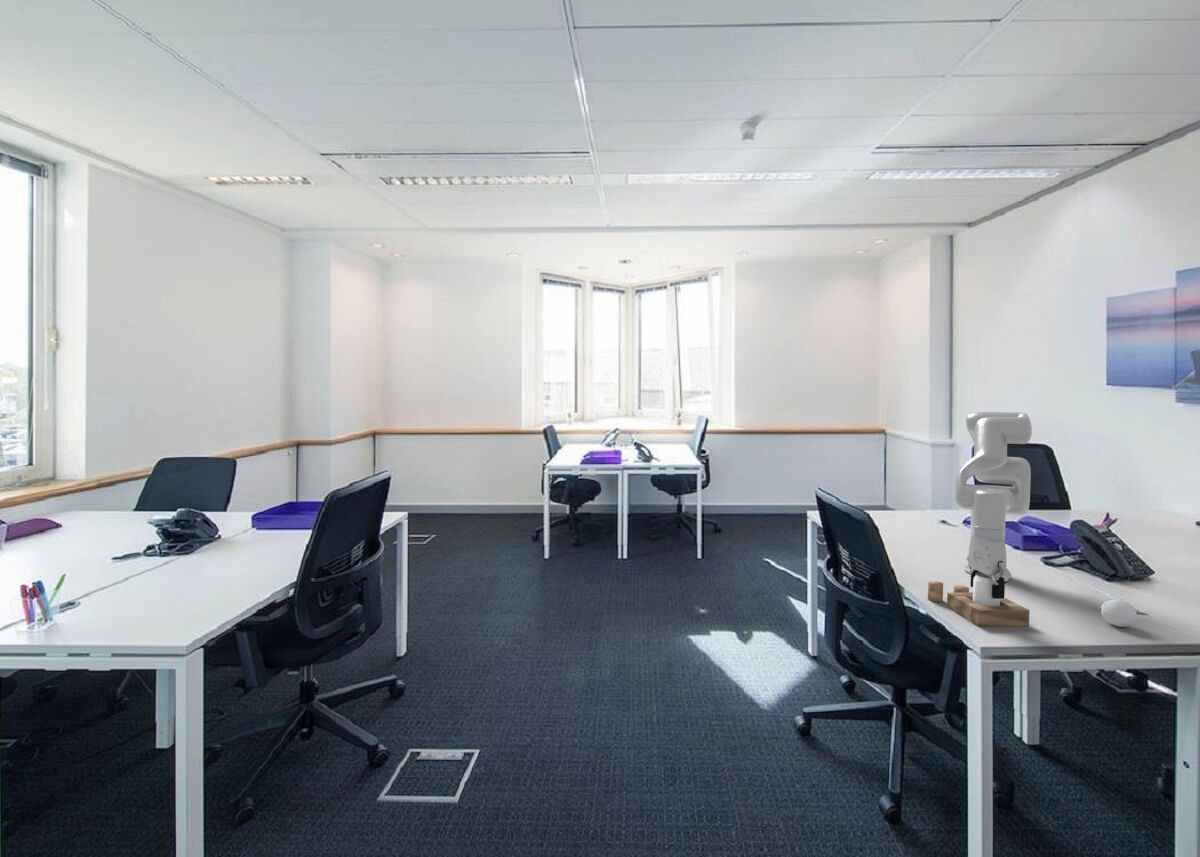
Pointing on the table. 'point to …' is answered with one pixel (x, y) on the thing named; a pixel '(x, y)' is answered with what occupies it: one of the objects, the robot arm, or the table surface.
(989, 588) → the can
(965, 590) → the peg short
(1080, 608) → the table surface
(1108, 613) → the white rounded egg-shaped part
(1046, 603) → the table surface
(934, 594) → the peg mid
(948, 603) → the wooden rectangular frame
